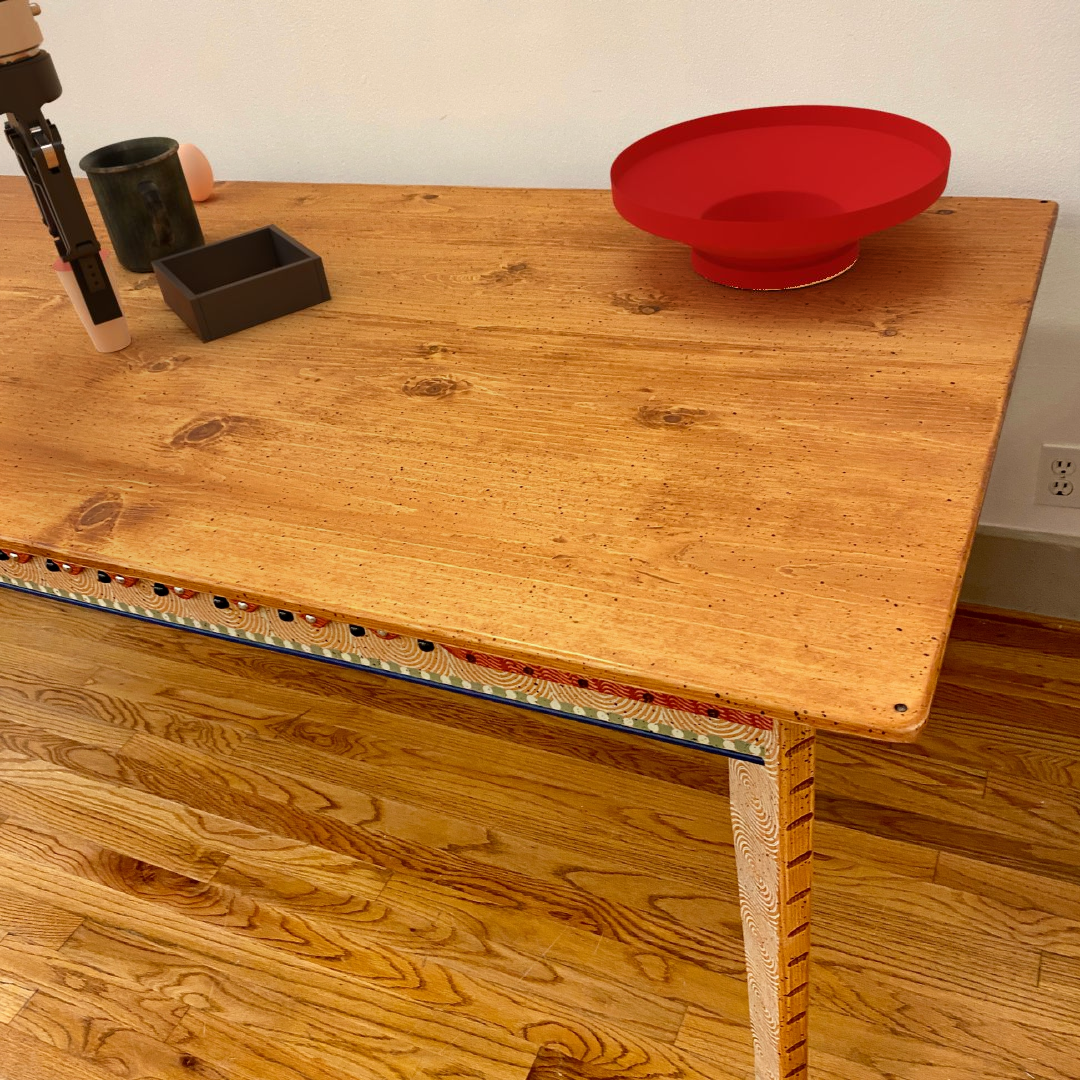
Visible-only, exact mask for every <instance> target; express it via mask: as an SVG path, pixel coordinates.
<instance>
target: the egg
mask: <svg viewBox="0 0 1080 1080" xmlns="http://www.w3.org/2000/svg"><path fill="white" fill-rule="evenodd" d="M177 152H178V156H179V159H180V162H181V165H182V169H183V172H184V175H185V178H186V182H187V185H188V188H189V191H190V194H191V198H192V201H195V202H203V201H206V200H207V199H209V197H210V196H211V194H212V192H213V189H214V183H215V180H214V173H213V169H212V166H211V164H210V162H209V159H208V158H207V157H206V156H205V154H204V153H203V152H202V150H201V149H200V148H199V147H197V146H196V145H195V144H193V143H191V142H182V143H181V144H179V149H178V151H177Z"/></svg>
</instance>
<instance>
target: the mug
mask: <svg viewBox="0 0 1080 1080" xmlns="http://www.w3.org/2000/svg"><path fill="white" fill-rule="evenodd" d="M179 146H180V143H179V142H178V141H177V140H176V139H174V138H171V137H168V136H167V137H166V136H145V137H138V138H131V139H126V140H122V141H118V142H114V143H111V144H108V145H104V146H102V147H98V148H97V149H95V150H92V151H90V152H88V153H87V154H85V155H84V156H82V157H81V158H80V160H79V162H78V167H79V169H80V170H81V171H83V172H85V174H86V177H87V179H88V183H89V186H90V188H91V190H92V193H93V197H94V199H95V202H96V204H97V207H98V210H99V213H100V215H101V218H102V221H103V224H104V226H105V229H106V231H107V234H108V237H109V239H110V242H111V246H112V248H113V251H114V254H115V256H116V259H117V262H118V264H119V265H121V266H122V267H123V268H124V269H126V270H128V271H131V272H154V269H153V266H152V264H151V262H152V261H155V260H159V259H161V258H164V257H168V256H171V255H174V254H177V253H181V252H184V251H187V250H190V249H193V248H197V247H200V246H203V245H206V239H205V236H204V233H203V230H202V227H201V223H200V221H199V217H198V214H197V211H196V208H195V204H194V202H193V201H194V200H192V198H191V194H190V191H189V188H188V185H187V182H186V178H185V175H184V172H183V169H182V165H181V162H180V159H179V156H178V152H177V151H178V149H179Z"/></svg>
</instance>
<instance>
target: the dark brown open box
mask: <svg viewBox="0 0 1080 1080" xmlns="http://www.w3.org/2000/svg"><path fill="white" fill-rule="evenodd" d="M151 264H152V266H153V269H154V271H153V272H154V275H155V278H156V281H157V283H158V286H159V290H160V292H161V295H162V298H163V301H164V303H165V304H166V305H167V306H168V307H169V308H170V309H171V310H172V311H173V312H174V313H175V314H176V315H177V316H178V317H179V318H180V319H181V320H182V321H183V323H185V324H186V326H187V327H189V329H190V330H191V331H192V332H193V333H194V334H195V335H196V336H197V337H198V338H199V339H200V340H201V342H203V344H204V343H208V342H211V341H213V340H217V339H219V338H223V337H225V336H228V335H231V334H234V333H237V332H239V331H243V330H246V329H248V328H252V327H254V326H257V325H260V324H263V323H266V322H268V321H271V320H274V319H277V318H281V317H283V316H286V315H289V314H292V313H295V312H298V311H300V310H303V309H306V308H309V307H312V306H315V305H318V304H321V303H323V302H326V301H328V300H329V301H330V300H332V295H331V291H330V286H329V283H328V278H327V276H326V271H325V266H324V263H323V259H322V257H321V256H320V255H319V254H317V252H314V251H313V250H311V249H310V248H308V247H307V246H306V245H304V244H303V243H301V242H300V241H299V240H297V239H296V238H294V237H293V236H292V235H290V234H288V233H287V232H285V230H282V229H281V228H280V227H278V226H277V225H275V224H274V223H271V224H268V225H265V226H261V227H258V228H254V229H252V230H249V231H244V232H242V233H238V234H235V235H233V236H229V237H226V238H223V239H219V240H216V241H213V242H209V243H207V244H206V243H205V244H204V245H203V246H200V247H197V248H193V249H190V250H187V251H184V252H181V253H177V254H174V255H171V256H168V257H164V258H161V259H159V260H155V261H152V262H151Z"/></svg>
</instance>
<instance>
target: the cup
mask: <svg viewBox="0 0 1080 1080" xmlns="http://www.w3.org/2000/svg"><path fill="white" fill-rule="evenodd" d="M99 254H100V256H101V259H102V262H103V264H104V267H105V269H106V272H107V275H108V277H109V280H110V283H111V285H112V288H113V291H114V293H115V296H116V299H117V301H118V304H119V307H120V309H121V312H122V314H123V317H120V318H117V319H114V320H111V321H108V322H105V323H102V324H99V325H96V326H95V325H94V323H93V321H92V319H91V316H90V314H89V311H88V309H87V306H86V304H85V301H84V299H83V296H82V294H81V291H80V288H79V286H78V283H77V281H76V278H75V276H74V273H73V271H72V268H71V266H70V263H69V262H67V263H63V261H62V259H61V258H60V257H59V258H58V259H56V260H55V261H54V262H53V263H52V264H51V269H52V270H54V271H55V273H56V275H57V277H58V279H59V281H60V283H61V285H62V287H63V289H64V290H65V292H66V294H67V297H68V298H69V301H70V302H71V304H72V306H73V307H74V310H75V312H76V314H77V316H78V317H79V320H80V321H81V323H82V325H83V327H84V329H85V331H86V333H87V335H88V337H89V338H90V340H91V342H92V344H93V345H94V348H95V349H96V351H97V352H99V353H102V354H103V353H104V354H105V353H106V354H107V353H113V352H117V351H120V350H123V349H125V348H126V347H128V346H129V345H130V344H131V342H132V338H131V333H130V329H129V325H128V320H127V317H126V313H125V309H124V306H123V305H124V304H123V302H122V297H121V294H120V290H119V287H118V282H117V278H116V275H115V272H114V268H113V264H112V261H111V256H110V255H111V251H110V250H109V249H106V248H102V247H101V251H99Z"/></svg>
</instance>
